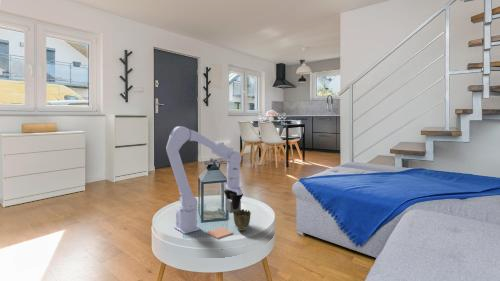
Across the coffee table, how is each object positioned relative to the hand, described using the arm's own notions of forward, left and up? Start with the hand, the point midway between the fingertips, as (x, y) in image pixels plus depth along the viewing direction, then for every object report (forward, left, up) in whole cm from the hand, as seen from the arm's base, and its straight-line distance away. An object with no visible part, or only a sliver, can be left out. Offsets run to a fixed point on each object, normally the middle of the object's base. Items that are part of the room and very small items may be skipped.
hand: (233, 207), depth 127 cm
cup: (+9, -2, -8) cm, 12 cm away
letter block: (0, 0, -2) cm, 2 cm away
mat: (+5, -11, -8) cm, 14 cm away
